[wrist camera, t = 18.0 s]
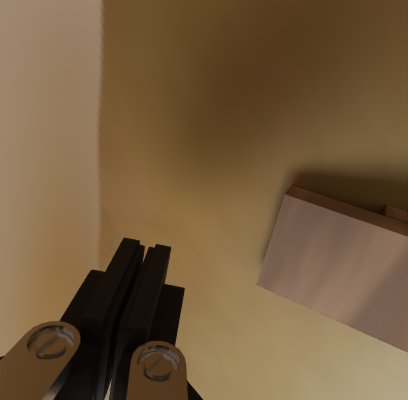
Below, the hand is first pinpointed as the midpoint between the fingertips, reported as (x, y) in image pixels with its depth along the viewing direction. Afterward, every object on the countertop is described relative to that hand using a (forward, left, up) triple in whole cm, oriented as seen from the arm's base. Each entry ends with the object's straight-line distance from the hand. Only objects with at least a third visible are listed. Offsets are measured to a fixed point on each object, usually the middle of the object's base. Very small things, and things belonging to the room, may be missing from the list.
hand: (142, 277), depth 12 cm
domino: (-5, 0, -5) cm, 8 cm away
